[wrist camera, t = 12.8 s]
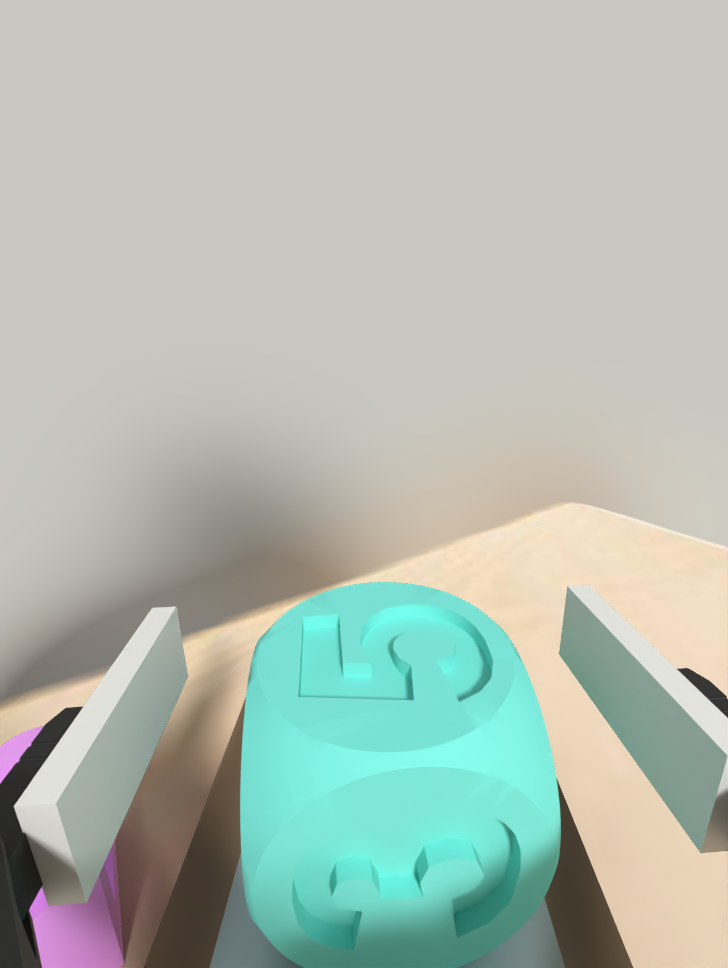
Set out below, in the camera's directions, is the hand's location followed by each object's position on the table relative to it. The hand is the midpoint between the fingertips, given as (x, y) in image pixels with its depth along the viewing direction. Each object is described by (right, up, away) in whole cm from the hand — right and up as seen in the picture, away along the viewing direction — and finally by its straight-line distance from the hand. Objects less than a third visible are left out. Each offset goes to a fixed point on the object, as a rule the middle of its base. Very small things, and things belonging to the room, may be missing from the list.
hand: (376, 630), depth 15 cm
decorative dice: (0, -8, +1) cm, 8 cm away
